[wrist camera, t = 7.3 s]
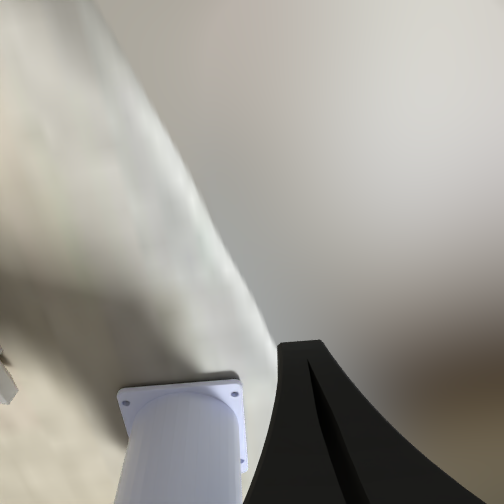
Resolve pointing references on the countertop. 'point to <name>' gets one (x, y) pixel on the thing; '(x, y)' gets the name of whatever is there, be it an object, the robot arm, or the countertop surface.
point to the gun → (6, 385)
